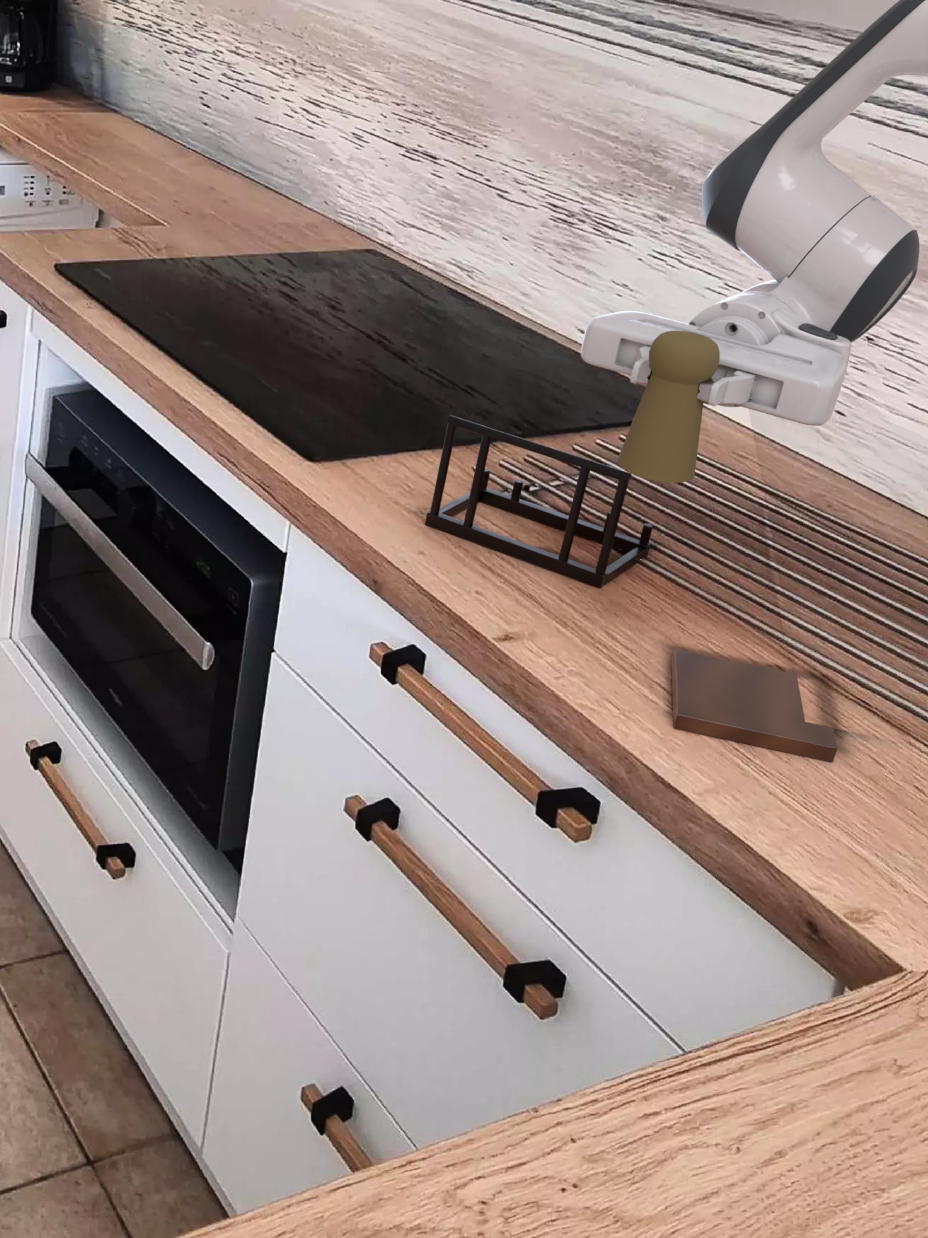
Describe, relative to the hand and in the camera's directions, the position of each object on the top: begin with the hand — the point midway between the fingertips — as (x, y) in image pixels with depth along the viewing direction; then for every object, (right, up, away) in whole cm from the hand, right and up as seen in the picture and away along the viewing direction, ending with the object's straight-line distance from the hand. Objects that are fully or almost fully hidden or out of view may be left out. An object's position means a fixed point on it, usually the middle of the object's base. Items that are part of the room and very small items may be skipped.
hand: (673, 384), depth 129 cm
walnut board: (+4, -25, -5) cm, 26 cm away
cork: (0, -6, +4) cm, 7 cm away
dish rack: (-5, -11, +21) cm, 24 cm away
